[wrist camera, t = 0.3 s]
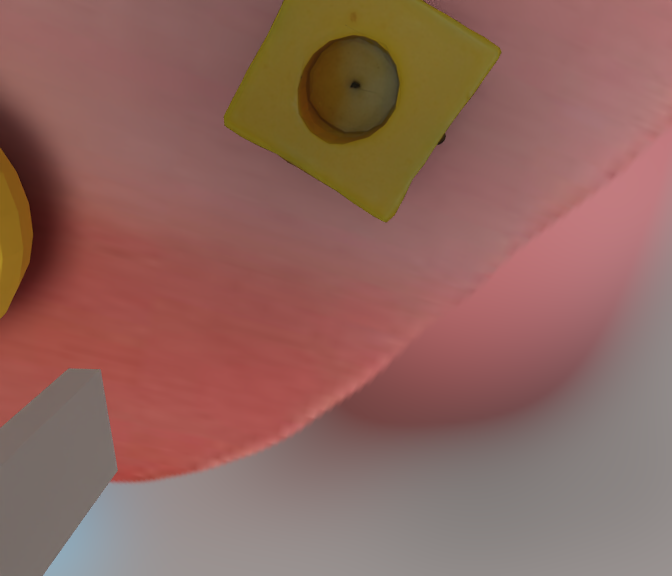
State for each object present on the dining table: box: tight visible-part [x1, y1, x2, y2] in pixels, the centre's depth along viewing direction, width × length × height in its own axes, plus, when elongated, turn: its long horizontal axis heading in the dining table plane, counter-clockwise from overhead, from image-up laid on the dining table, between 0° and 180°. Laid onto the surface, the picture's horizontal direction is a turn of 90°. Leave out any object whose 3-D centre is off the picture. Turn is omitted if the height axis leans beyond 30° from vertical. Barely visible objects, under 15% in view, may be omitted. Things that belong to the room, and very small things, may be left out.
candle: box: [224, 0, 501, 223], centre depth 32 cm, size 10×10×10 cm
